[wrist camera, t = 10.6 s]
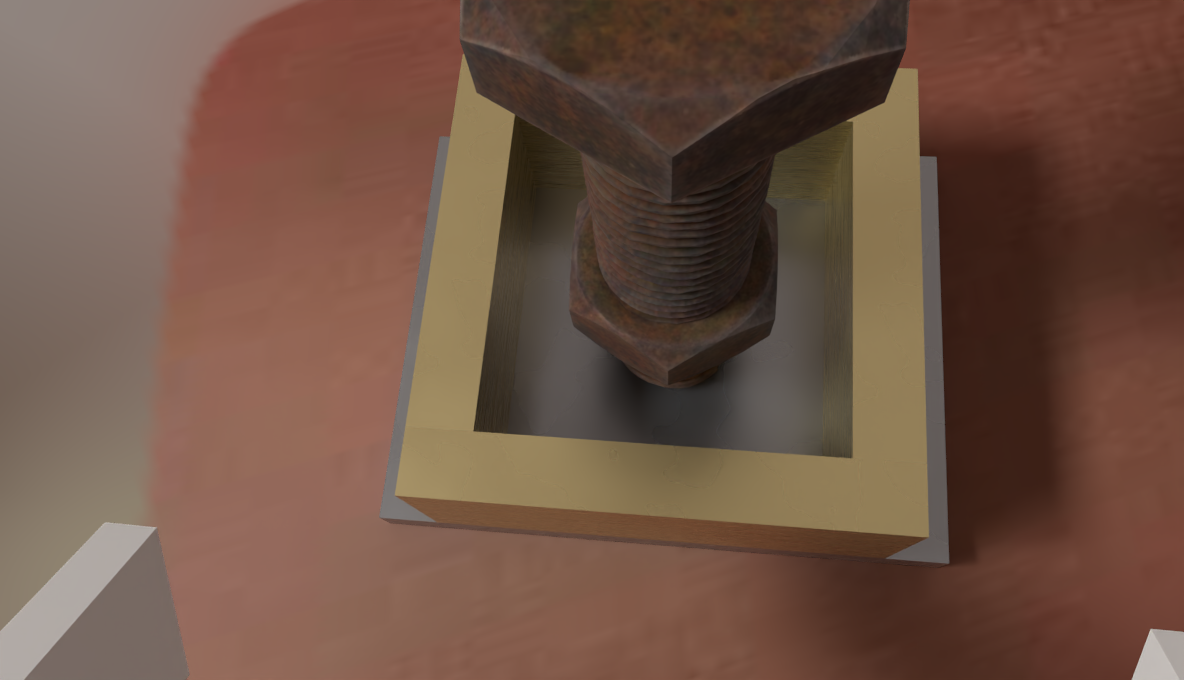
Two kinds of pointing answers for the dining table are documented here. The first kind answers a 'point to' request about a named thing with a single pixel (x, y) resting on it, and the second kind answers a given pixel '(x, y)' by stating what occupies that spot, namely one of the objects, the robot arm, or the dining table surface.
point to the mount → (692, 414)
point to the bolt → (680, 148)
